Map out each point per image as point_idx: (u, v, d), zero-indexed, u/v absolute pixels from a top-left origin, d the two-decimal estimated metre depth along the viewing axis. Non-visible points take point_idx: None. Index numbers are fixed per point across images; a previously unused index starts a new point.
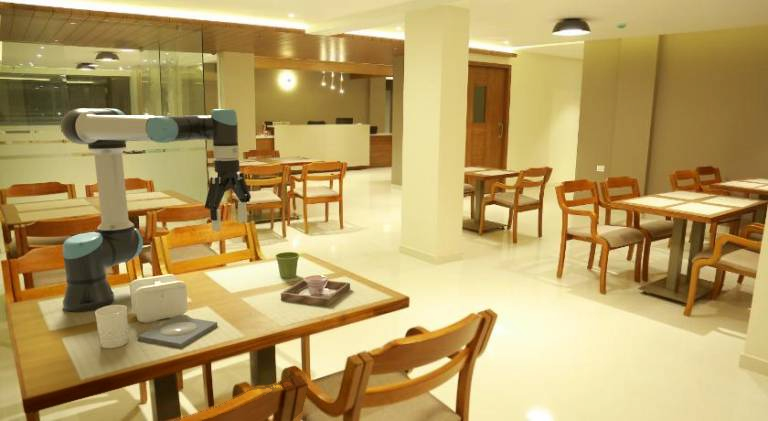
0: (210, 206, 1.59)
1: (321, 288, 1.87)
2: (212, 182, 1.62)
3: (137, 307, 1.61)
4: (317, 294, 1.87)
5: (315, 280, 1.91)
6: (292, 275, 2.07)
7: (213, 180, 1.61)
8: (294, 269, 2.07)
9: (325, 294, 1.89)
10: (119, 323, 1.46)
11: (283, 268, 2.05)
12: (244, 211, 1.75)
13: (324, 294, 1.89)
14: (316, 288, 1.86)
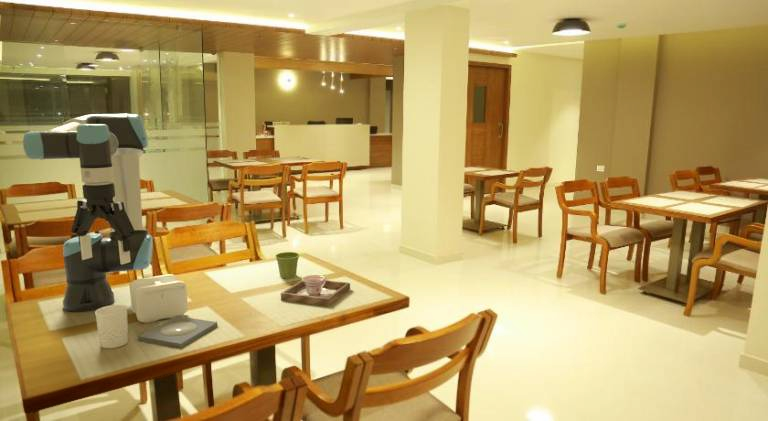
0: None
1: (319, 288, 1.87)
2: None
3: (137, 307, 1.61)
4: (315, 294, 1.87)
5: (313, 280, 1.91)
6: (292, 275, 2.07)
7: None
8: (294, 269, 2.07)
9: (323, 294, 1.89)
10: (119, 323, 1.46)
11: (283, 268, 2.05)
12: None
13: (322, 294, 1.89)
14: (314, 287, 1.86)
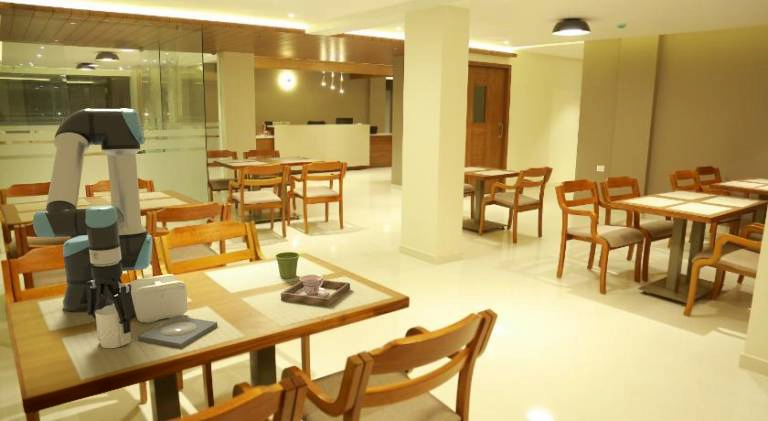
0: None
1: (316, 288, 1.87)
2: None
3: (137, 307, 1.61)
4: (312, 293, 1.87)
5: (311, 279, 1.91)
6: (292, 275, 2.07)
7: None
8: (294, 269, 2.07)
9: (321, 294, 1.89)
10: None
11: (283, 268, 2.05)
12: None
13: (320, 293, 1.90)
14: (312, 287, 1.86)
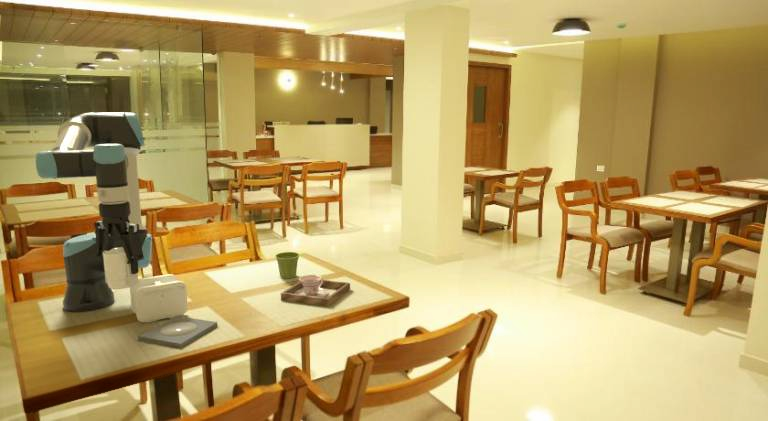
0: None
1: (316, 288, 1.87)
2: None
3: (137, 307, 1.61)
4: (312, 294, 1.87)
5: (310, 280, 1.91)
6: (292, 275, 2.07)
7: None
8: (294, 269, 2.07)
9: (320, 294, 1.89)
10: None
11: (283, 268, 2.05)
12: None
13: (319, 294, 1.89)
14: (311, 287, 1.86)
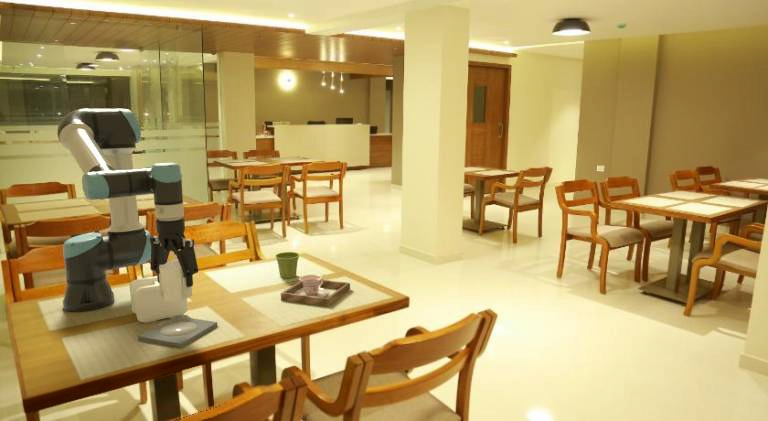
0: None
1: (316, 288, 1.87)
2: None
3: (137, 307, 1.61)
4: (312, 294, 1.87)
5: (311, 280, 1.91)
6: (292, 275, 2.07)
7: None
8: (294, 269, 2.07)
9: (320, 294, 1.89)
10: None
11: (283, 268, 2.05)
12: None
13: (319, 294, 1.89)
14: (311, 287, 1.86)
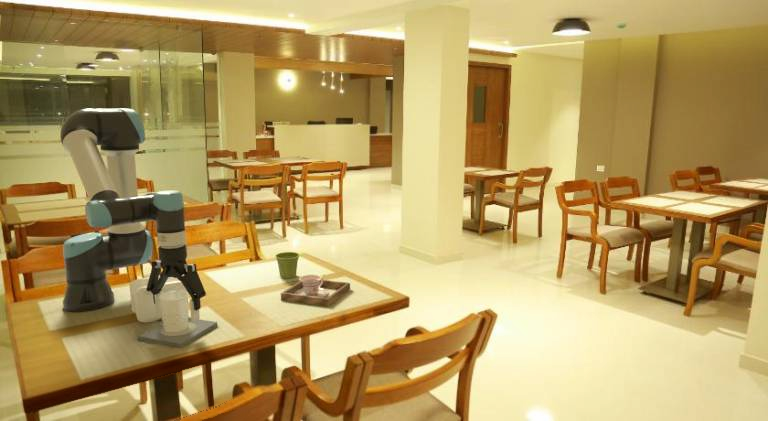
0: None
1: (316, 288, 1.87)
2: None
3: (137, 307, 1.61)
4: (312, 294, 1.87)
5: (311, 280, 1.91)
6: (292, 275, 2.07)
7: None
8: (294, 269, 2.07)
9: (320, 294, 1.89)
10: (182, 308, 1.54)
11: (283, 268, 2.05)
12: None
13: (319, 294, 1.89)
14: (311, 287, 1.86)
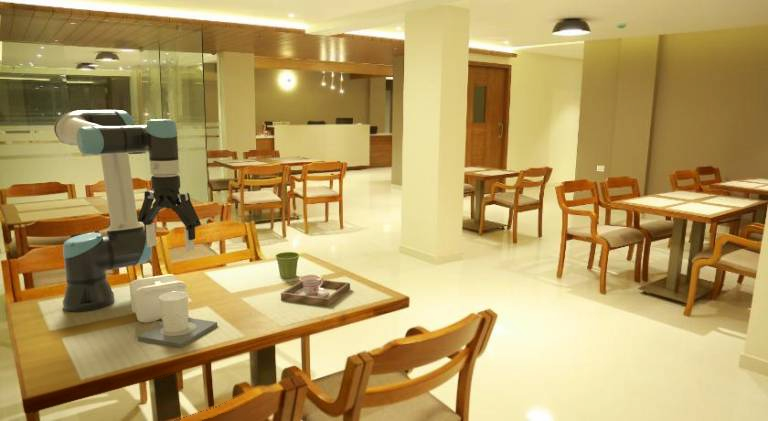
0: None
1: (316, 288, 1.87)
2: None
3: (137, 307, 1.61)
4: (312, 294, 1.87)
5: (311, 280, 1.91)
6: (292, 275, 2.07)
7: None
8: (294, 269, 2.07)
9: (320, 294, 1.89)
10: (182, 308, 1.54)
11: (283, 268, 2.05)
12: None
13: (319, 294, 1.89)
14: (311, 287, 1.86)
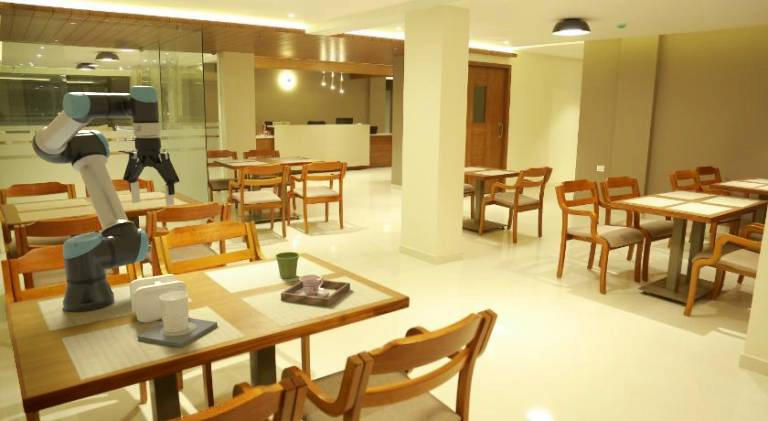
0: None
1: (316, 288, 1.87)
2: None
3: (137, 307, 1.61)
4: (312, 294, 1.87)
5: (311, 280, 1.91)
6: (292, 275, 2.07)
7: None
8: (294, 269, 2.07)
9: (320, 294, 1.89)
10: (182, 308, 1.54)
11: (283, 268, 2.05)
12: None
13: (319, 294, 1.89)
14: (311, 287, 1.86)
